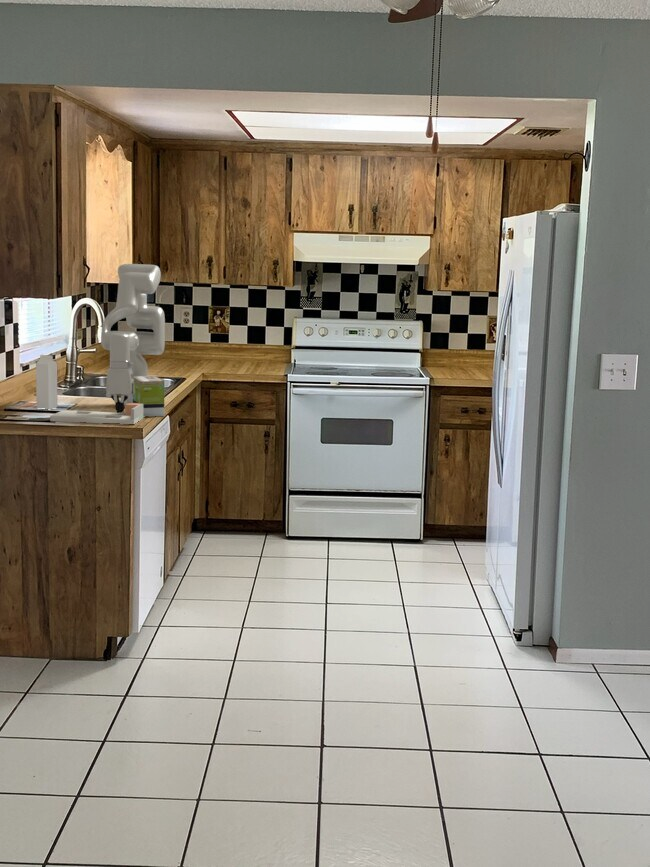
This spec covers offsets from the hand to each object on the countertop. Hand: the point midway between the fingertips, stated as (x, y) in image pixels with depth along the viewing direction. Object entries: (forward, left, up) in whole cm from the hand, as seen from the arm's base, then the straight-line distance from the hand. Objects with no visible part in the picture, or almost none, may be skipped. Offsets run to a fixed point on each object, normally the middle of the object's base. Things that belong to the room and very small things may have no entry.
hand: (119, 412), depth 370 cm
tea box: (-16, +7, -3) cm, 18 cm away
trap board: (+4, -8, -3) cm, 9 cm away
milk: (-17, -35, -3) cm, 39 cm away
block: (-2, +5, -1) cm, 5 cm away
